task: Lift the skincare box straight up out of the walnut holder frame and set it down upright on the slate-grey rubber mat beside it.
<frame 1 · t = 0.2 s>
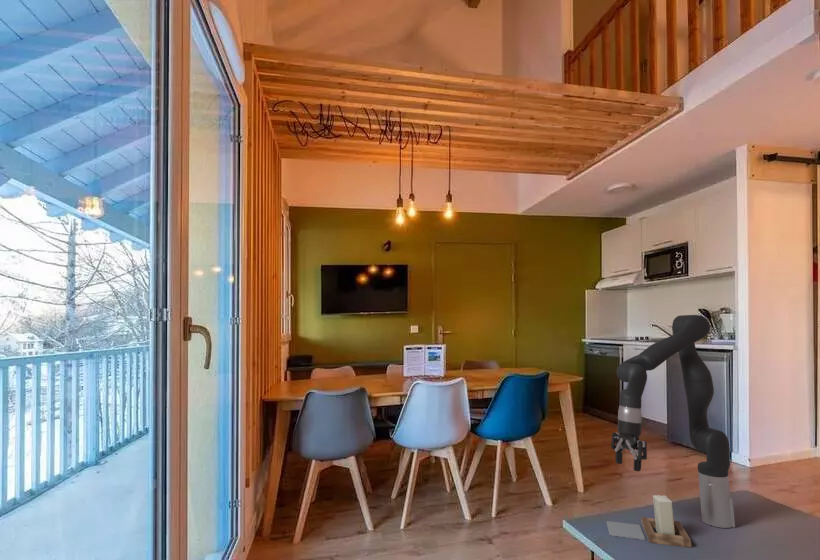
hand: (627, 467, 155), 22 cm above the table, tool pointing down, fingers open, 8 cm apart
skincare box: (665, 536, 150), resting in walnut holder
walnut holder: (665, 535, 150), on the table
slate mat: (625, 530, 154), on the table
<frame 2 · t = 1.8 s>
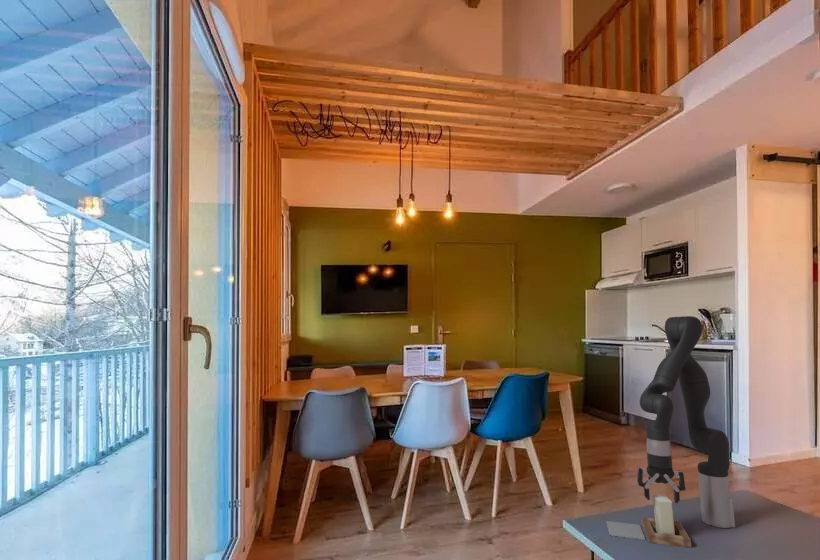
hand: (661, 500, 152), 11 cm above the table, tool pointing down, fingers open, 8 cm apart
nothing on the table moved.
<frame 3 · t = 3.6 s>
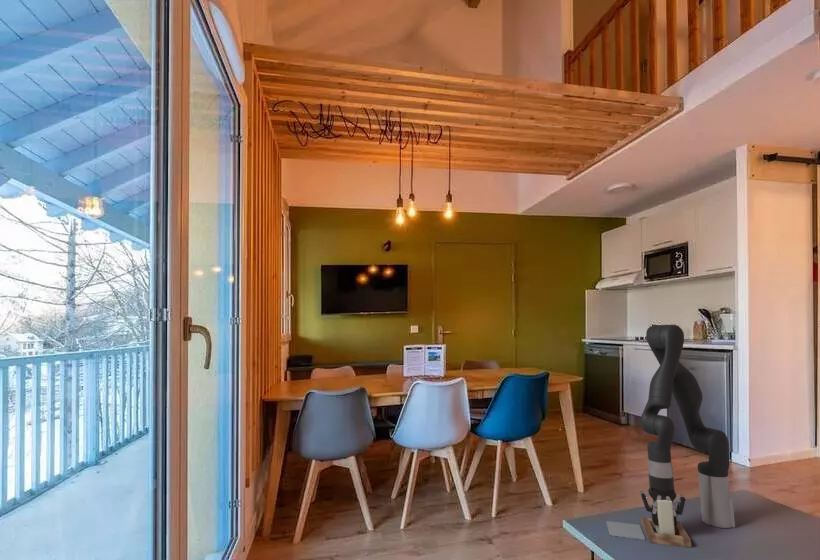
hand: (664, 525, 151), 3 cm above the table, tool pointing down, fingers closed on skincare box, 4 cm apart
skincare box: (665, 536, 150), resting in walnut holder, touching gripper
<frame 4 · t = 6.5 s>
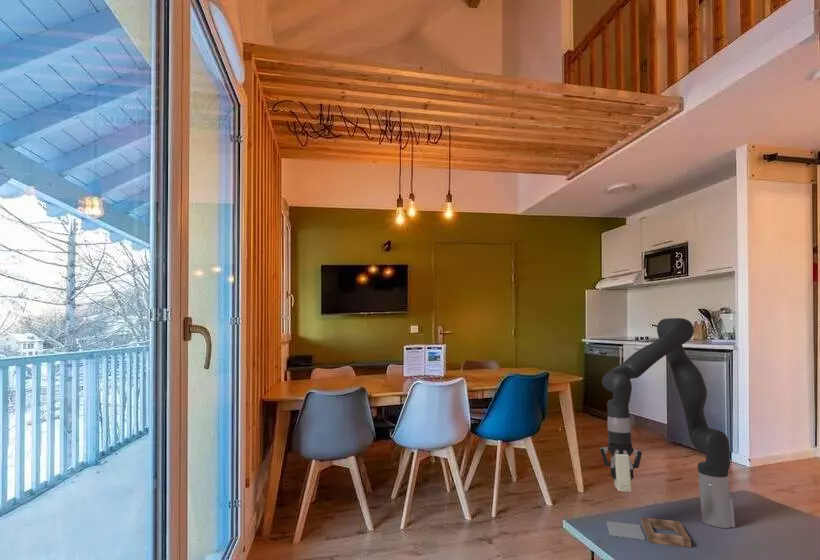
hand: (621, 478, 156), 18 cm above the table, tool pointing down, fingers closed on skincare box, 4 cm apart
skincare box: (622, 489, 156), point 14 cm above the table, touching gripper
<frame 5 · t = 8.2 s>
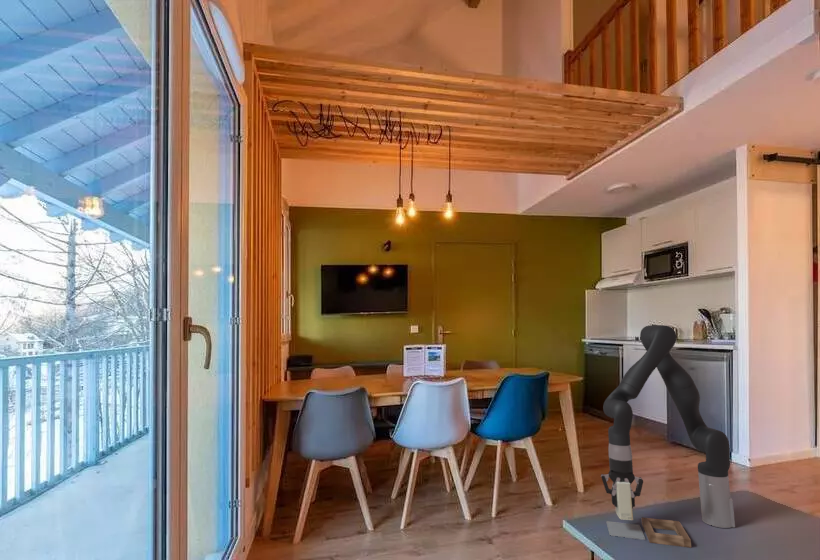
hand: (623, 506, 155), 8 cm above the table, tool pointing down, fingers closed on skincare box, 4 cm apart
skincare box: (624, 517, 155), point 5 cm above the table, touching gripper
when the fingers open (5 cm above the table, at t = 9.7 s): skincare box drops 1 cm, resting on slate mat.
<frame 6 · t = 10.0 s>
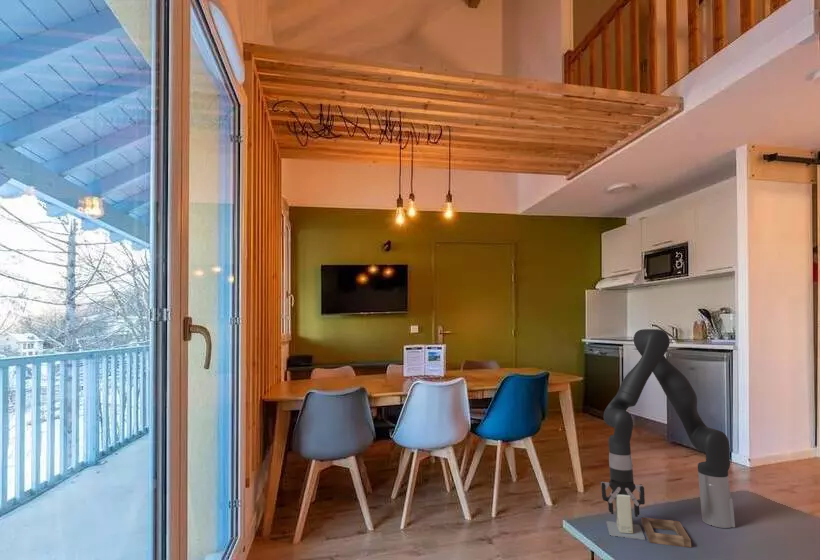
hand: (623, 514, 155), 5 cm above the table, tool pointing down, fingers open, 7 cm apart
skincare box: (624, 530, 154), resting on slate mat
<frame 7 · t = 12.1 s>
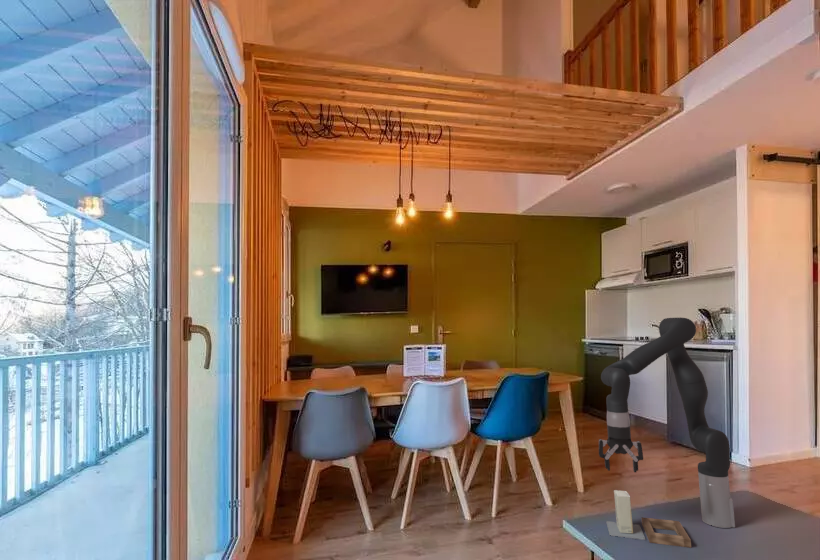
hand: (621, 470, 157), 20 cm above the table, tool pointing down, fingers open, 8 cm apart
nothing on the table moved.
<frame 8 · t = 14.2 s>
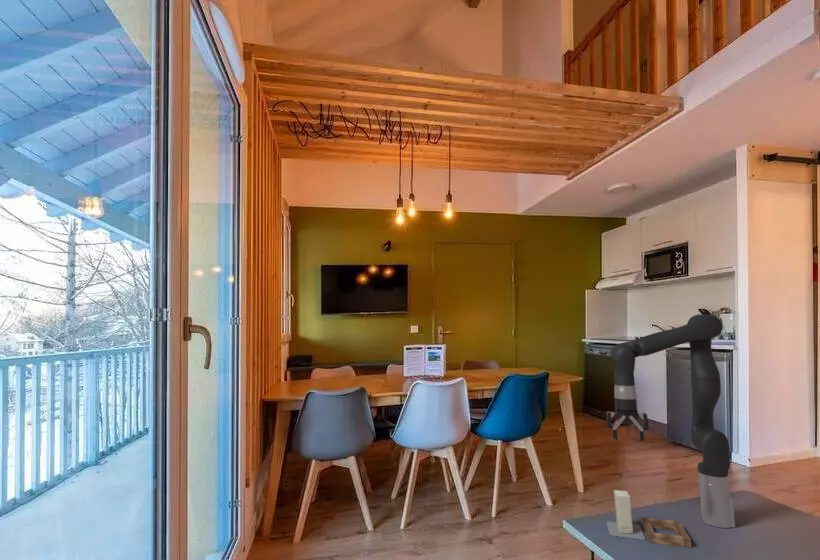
hand: (628, 440, 167), 28 cm above the table, tool pointing down, fingers open, 8 cm apart
nothing on the table moved.
at the end: skincare box 0.1 cm from the target spot, resting on slate mat; skincare box tilted 0°; the gripper is holding nothing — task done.
